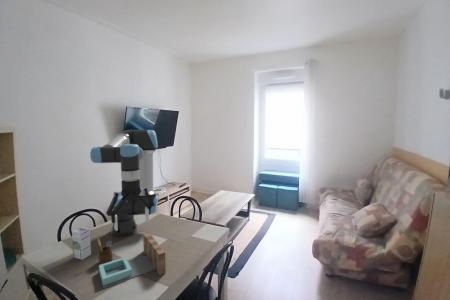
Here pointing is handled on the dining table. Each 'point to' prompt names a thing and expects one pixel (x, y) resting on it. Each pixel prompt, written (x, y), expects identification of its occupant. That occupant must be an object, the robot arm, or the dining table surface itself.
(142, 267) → the grey flat plate
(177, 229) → the dining table surface
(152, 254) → the backstop wall
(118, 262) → the socket frame
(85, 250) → the syrup box
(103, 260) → the utensil holder
